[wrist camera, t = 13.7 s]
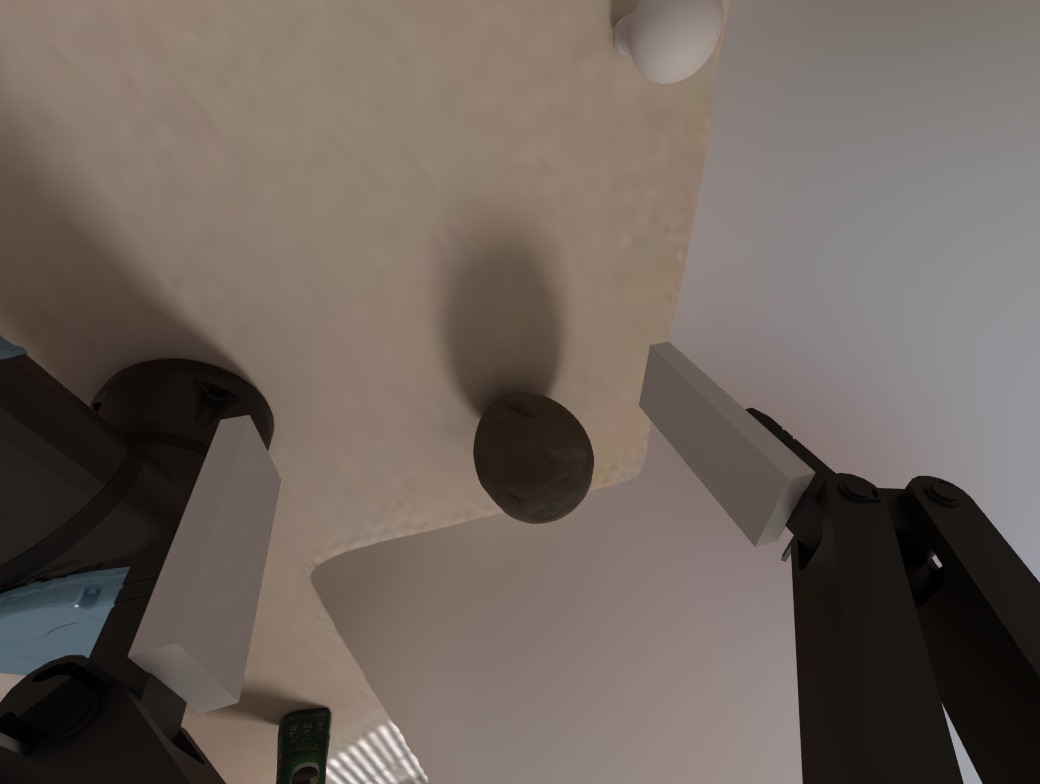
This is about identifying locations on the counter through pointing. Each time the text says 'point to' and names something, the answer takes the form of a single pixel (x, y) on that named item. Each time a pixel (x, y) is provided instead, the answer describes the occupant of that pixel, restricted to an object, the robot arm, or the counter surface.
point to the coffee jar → (303, 747)
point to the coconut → (533, 458)
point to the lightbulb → (669, 37)
